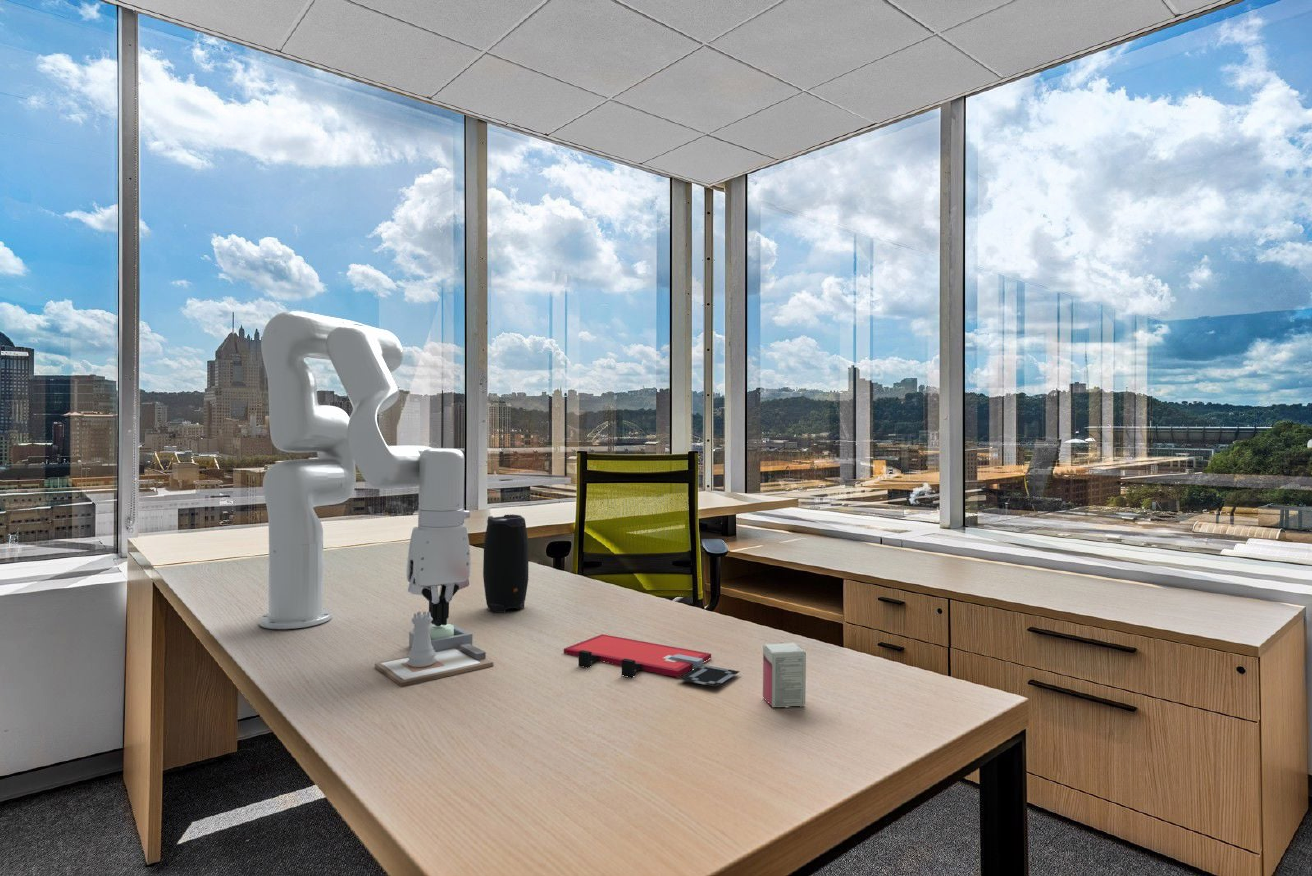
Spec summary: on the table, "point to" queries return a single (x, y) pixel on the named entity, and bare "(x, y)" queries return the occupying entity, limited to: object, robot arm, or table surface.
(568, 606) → the table surface
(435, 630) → the button
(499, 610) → the portable speaker
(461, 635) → the button housing
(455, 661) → the clipboard
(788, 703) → the small box
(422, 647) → the rook chess piece
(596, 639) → the red board with handle
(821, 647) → the table surface
